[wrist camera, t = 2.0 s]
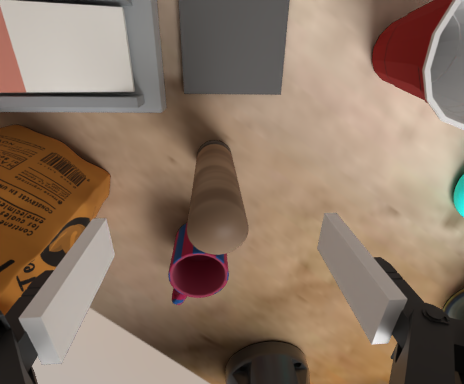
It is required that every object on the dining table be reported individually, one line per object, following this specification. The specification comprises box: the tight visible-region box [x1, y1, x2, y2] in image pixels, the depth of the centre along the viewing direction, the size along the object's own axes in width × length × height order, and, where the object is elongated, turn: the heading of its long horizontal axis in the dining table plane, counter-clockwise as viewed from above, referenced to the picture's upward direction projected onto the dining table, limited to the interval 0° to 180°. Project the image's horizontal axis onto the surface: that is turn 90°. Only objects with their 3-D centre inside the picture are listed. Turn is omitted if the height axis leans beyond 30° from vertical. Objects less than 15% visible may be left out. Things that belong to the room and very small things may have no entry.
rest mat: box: [179, 0, 289, 95], centre depth 25 cm, size 10×10×1 cm
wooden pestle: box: [187, 140, 248, 255], centre depth 24 cm, size 4×4×15 cm
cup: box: [169, 222, 229, 305], centre depth 33 cm, size 7×10×7 cm
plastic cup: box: [372, 0, 464, 130], centre depth 22 cm, size 11×11×12 cm
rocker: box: [0, 0, 135, 93], centre depth 20 cm, size 16×6×1 cm, turn 89°
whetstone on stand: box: [0, 0, 167, 113], centre depth 22 cm, size 10×20×6 cm, turn 89°
